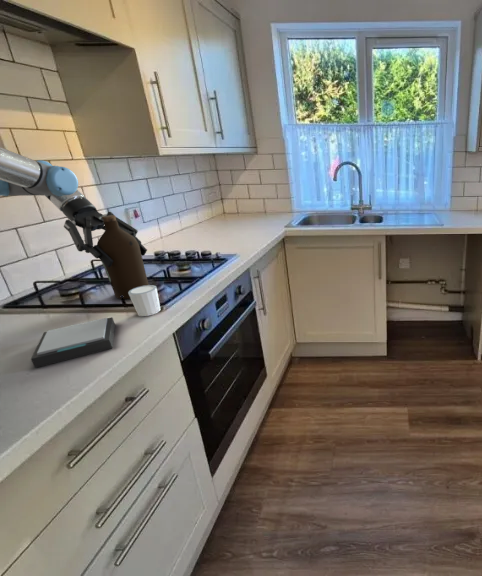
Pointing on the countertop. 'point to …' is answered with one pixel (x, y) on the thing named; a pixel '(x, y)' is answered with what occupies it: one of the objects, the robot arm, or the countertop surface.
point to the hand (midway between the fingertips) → (128, 258)
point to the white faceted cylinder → (145, 300)
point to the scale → (74, 341)
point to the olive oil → (122, 258)
